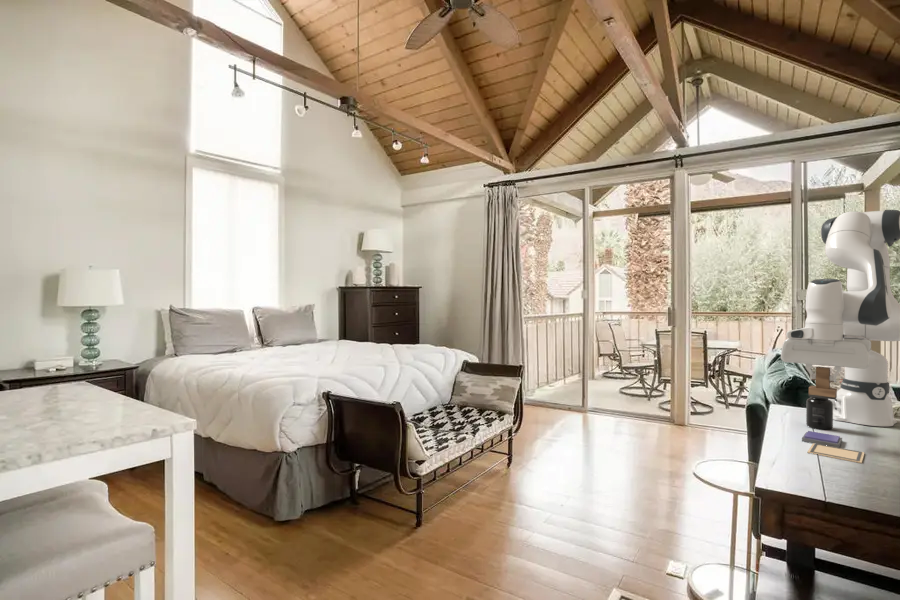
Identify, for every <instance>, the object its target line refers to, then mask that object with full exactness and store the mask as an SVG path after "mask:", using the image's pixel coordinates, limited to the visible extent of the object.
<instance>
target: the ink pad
mask: <svg viewBox="0 0 900 600" xmlns="http://www.w3.org/2000/svg"><path fill="white" fill-rule="evenodd" d="M803 441H805V442H804V443H809V442H811V443H810V444H813V443H816V444H821V445H827V446H832V447H838V448H841V447H840V446H842V445H841V444H842V442H843V437H841V436H840V435H835V434H829V433H824V432H818V431H817V432H816V431H812V430H807V431H806V432H805V433H804V435H802V437H801V442H803Z"/></svg>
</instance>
